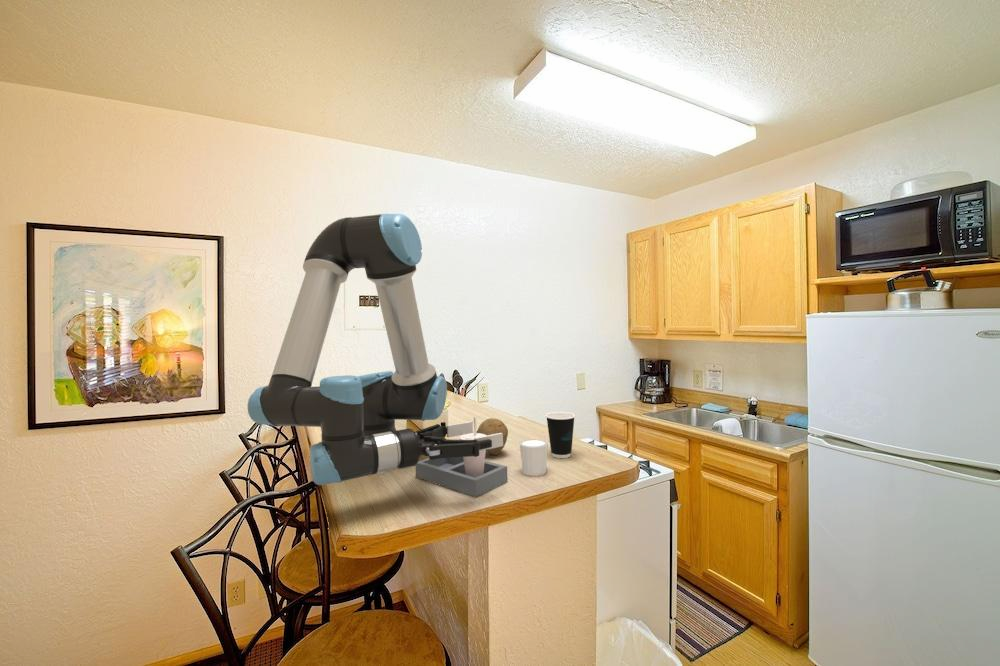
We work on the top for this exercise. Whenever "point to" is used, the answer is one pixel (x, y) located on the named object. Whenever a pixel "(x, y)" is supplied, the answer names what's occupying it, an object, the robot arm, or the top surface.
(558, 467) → the top surface
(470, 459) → the smoothie
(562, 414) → the dixie cup
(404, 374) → the robot arm
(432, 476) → the divided tray
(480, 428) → the potato
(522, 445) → the white rounded cylinder
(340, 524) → the top surface
